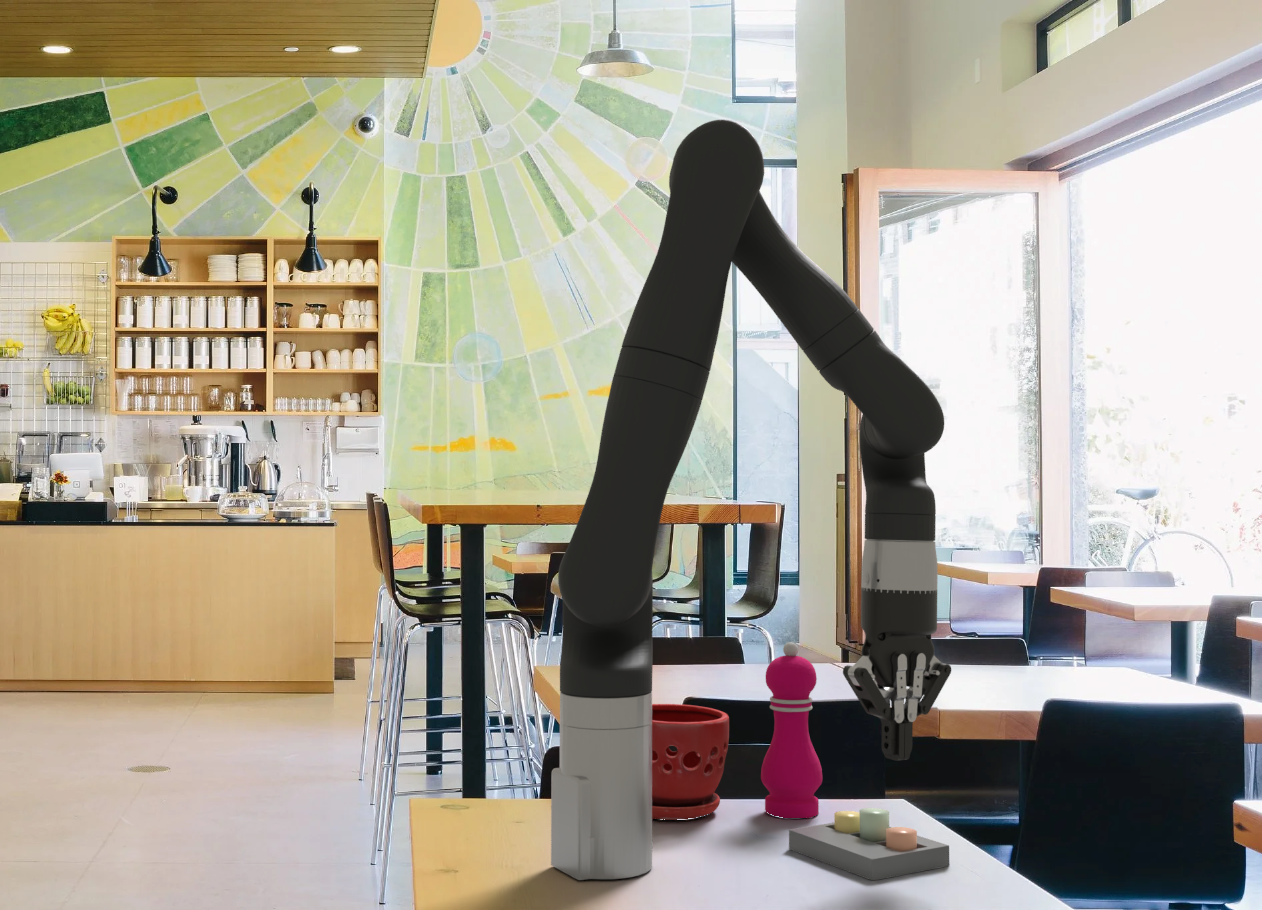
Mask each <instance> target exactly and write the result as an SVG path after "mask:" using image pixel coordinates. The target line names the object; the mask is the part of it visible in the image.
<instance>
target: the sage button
mask: <svg viewBox="0 0 1262 910" xmlns="http://www.w3.org/2000/svg"><path fill="white" fill-rule="evenodd" d="M858 812H859V817H860V838H861V839H864V840H867V841H870V842H878V841H884V840H886V829H887V828H889V827H890V811H889V810H888V809H884V808H878V807H877V808H876V807H864V808H861V809H859V811H858Z"/></svg>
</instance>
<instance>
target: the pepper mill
mask: <svg viewBox="0 0 1262 910" xmlns="http://www.w3.org/2000/svg"><path fill="white" fill-rule="evenodd" d="M782 650H783V651H782V652H783V654H784V655H781V656H779V657H776V658H774V659H773V660H772V661H771V662H770V663H769V664H768V666H767V669H766V671H765V683H766V686H767V687H768V689H769V690H770V692H771V693H772V696H770V697H769V701H770V705H769V709H770V710H772V711H773V717H774V718H773V720H774V725H773V726H774V727H773V729H774V730H773V735H772V739H771V742H770V744H769V747H768V749H767V751H766V753H765V756H764V758H763V760H762V761H763V762H762V764H761V771H760V780H761V782H762V784H763V787H765V789H767V791H768V792H769V794H768V795H766V796H765V798H764V811H765V810H766V812H768V813H769V814H772V815H774V816H779V817H783V818H807V819H812V818H814V817H813V816H815V817H817V816H818V815H819V814H820V813H819V807H820V806H819V803H820V802H819V798H818V797H816V796H815V793H816V791H818V789H819V788H820V786H821V785H822V784H823V772H822V771H823V769H822V765H821V762H820V759H819V757H818V755H817V753H816V751H815V748H814V746H813V742H812V740H811V738H810V733H809V714H810V713H809V712H810V711H811V710H813V705H812V702H813V698H812V696H810V695H811V694H812V692H813V690H814V689H815V687H816V685H817V679H818V678H817V672H816V669H815V667H814V665H813V664H812V663H811V661H809V660H808V659H806V658H805V657H802V656H800V655H798V653H799V647H798V645H797V644H796V643H795V642H791V641H789V642H786V643H785V644H784V646H783V648H782ZM766 812H765V813H766ZM816 815H817V816H816ZM811 817H812V818H811ZM783 818H782V819H783Z"/></svg>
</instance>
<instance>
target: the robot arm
mask: <svg viewBox="0 0 1262 910" xmlns="http://www.w3.org/2000/svg"><path fill="white" fill-rule="evenodd" d="M672 160H673V161H672V164H671V168H670V172H669V176H668V177H669V180H668V186H669V187H668V188H669V199H668V204H667V210H666V216H665V220H664V225H663V231H662V235H661V240H660V243H659V246H658V249H657V253H656V256H655V258H654V261H653V263H652V266H651V268H650V270H649V271H648V272H649V273H648V275H647V277H646V280H645V282H644V284H643V286H642V287H643V288H642V289H641V291H640V294H639V297H638V298H637V302H636V304H635V306H634V309H633V312H632V314H631V317H630V320H629V323H628V326H627V329H626V331H625V334H624V338H623V341H622V344H621V349H620V351H619V354H618V355H619V356H618V359H617V362H616V366H615V370H614V373H613V376H612V381H611V384H610V390H609V394H608V398H607V403H606V407H605V410H604V411H605V412H604V418H603V423H602V429H601V435H600V439H599V440H600V441H599V448H598V454H597V460H596V465H595V470H594V474H593V479H592V482H591V485H590V488H589V490H588V494H587V497H586V499H585V503H584V506H583V508H582V511H581V513H580V516H579V519H578V521H577V524H576V526H575V528H574V531H573V534H572V536H571V539H570V541H569V543H568V546H567V547H566V550H565V552H564V554H563V557H562V559H561V561H560V564H559V567H558V575H557V576H558V577H557V580H558V582H557V584H558V588H559V592H560V595H561V598H562V639H561V640H562V641H561V643H562V644H561V655H560V665H559V691H560V692H559V767H555V768H553V769H552V770H551V775H550V776H551V786H550V787H551V789H550V790H551V791H550V792H551V796H550V797H551V798H550V801H551V806H550V810H551V817H550V818H551V819H550V822H551V823H550V825H551V826H550V827H551V829H550V831H551V832H550V837H551V838H550V839H551V840H550V841H551V842H550V866H552V867H554V868H555V869H556V870H559V871H561V872H563V873H565V874H566V875H568V876H570V877H572V878H573V879H576V880H578V881H584V880H619V879H628V878H633V877H638V876H641V875H644V874H646V873H648V872H649V871H651V869H652V868H653V847H654V846H653V819H652V704H653V667H654V666H653V662H654V661H653V659H654V658H653V657H654V656H653V655H654V651H653V649H654V645H653V643H654V642H653V618H654V617H653V615H654V612H653V608H654V606H653V605H654V604H653V601H654V599H653V595H654V593H653V592H654V591H653V589H654V588H653V586H654V584H653V582H654V581H653V580H654V579H653V564H654V557H655V549H656V546H657V545H656V544H657V537H658V535H659V533H658V532H659V528H660V522H661V518H662V517H661V516H662V513H663V509H664V504H665V501H666V500H665V499H666V497H667V494H668V493H667V492H668V491H669V488H670V485H671V482H672V480H673V477H674V475H675V474H676V471H677V468H678V465H679V463H680V462H681V459H682V457H683V454H684V452H685V450H686V447H687V446H688V442H689V440H690V437H691V434H692V431H693V428H694V426H695V424H696V421H697V417H698V414H699V411H700V408H701V406H702V403H703V402H702V401H703V398H704V394H705V391H706V388H707V383H708V380H709V377H710V371H711V369H712V364H713V359H714V356H715V350H716V346H717V341H718V338H719V331H720V326H721V322H722V321H721V320H722V315H723V308H724V305H725V304H724V303H725V297H726V292H727V291H726V289H727V285H728V279H729V273H730V269H731V267H732V264H733V265H734V266H735V267H736V268H737V269H738V270H739V271H740V272H741V274H742V275H744V277H745V278H746V279H747V280H748V282H749V283H750V284H751V285H752V286H753V287H754V288H755V290H756V291H757V292H758V294H759V295H760V296H761V297H762V298H763V300H764V301H765V302H766V303H767V304H766V305H768V306H769V307H770V309H771V310H772V311H773V313H774V314H775V315H776V317H777V318H778V319H779V320H780V323H781V324H782V325H783V327H785V329H786V330H787V332H788V333H789V334H790V336H791V337H792V338H793V340H794V341H795V343H796V344H797V345H798V347H800V349H801V350H802V352H803V353H804V355H805V356H806V357H807V358H808V359H809V361H810V363H811V364H812V365H813V366H814V368H815V370H817V371H819V372H818V373H819V374H820V376H821V377H822V378H823V379H824V380H825V381H826V382H827V384H829V385H830V387H832V388H833V389H835V390H838V391H840V392H842V393H844V394H845V395H846V396H847V397H848V398H849V400H851V401H852V403H853V404H854V406H855V407H857V409H858V410H859V411H860V413H861V414H862V415H861V420H860V424H859V452H860V460H861V462H860V463H861V469H862V476H863V481H864V482H863V483H864V487H865V488H864V489H865V505H864V507H865V508H864V513H865V514H864V539H865V540H864V543H863V544H864V546H863V552H862V559H861V560H862V561H861V582H860V583H861V585H860V586H861V588H860V589H861V594H860V595H861V597H860V599H861V600H860V628H861V629H862V630H863V632H864V635H865V636H864V637H865V638H864V642H863V645H862V646H861V657H860V658H859V659H858V660H857V661H856V662H855V663H854V664H853V665H848V664H847V665H845V666H843V669H842V674H843V676H844V678H845V680H846V681H847V683H848V685H849V686H850V688H851V690H852V692H853V693H854V694H855V696H856V697H857V699H858V702H859V703H860V704H861V706H862V708H863V709H864V711H865V713H867V715H871V716H874V717H877V718H879V720H880V722H881V752H882V754H883V756H884V757H885V758H886V759H888V760H893V761H895V762H898V761H906V760H909V759H910V757H911V753H912V750H913V734H914V733H913V728H914V727H913V725H914V722H915V721H916V720H917V717H918V716H920V715H928V714H929V713H930V710H932V707H933V706H934V704H935V702H936V700H937V698H938V696H939V695H940V693H941V691H942V690H943V687H944V686H945V684H946V683H947V681H948V679H949V677H950V676H951V673H952V667H951V665H950V663H949V664H948V663H943V662H942V661H941V660H939V658H937V657H936V655H935V646H934V643H933V640H932V635H934V634H935V633H936V632H937V631H938V576H939V573H938V555H937V550H936V542H935V541H936V523H937V522H936V517H937V516H936V514H937V513H936V512H937V511H936V509H937V508H936V497H935V494H934V491H933V489H932V488H931V487H930V486H929V485H928V483H927V479H926V478H927V476H926V462H925V461H926V460H925V459H926V458H925V453H927V452H929V451H930V450H932V449H933V448H934V447H935V446H936V445H938V443H939V442H940V440H941V439H942V436H943V433H944V430H945V415H944V412H943V409H942V406H941V403H940V402H939V400H938V399H937V396H936V395H935V394H934V393H933V391H932V390H931V389H930V387H929V385H928V384H926V383H925V382H924V380H923V379H922V378H921V377H920V376H919V375H918V374H917V373H916V372H915V371H914V370H913V369H912V368H910V367H909V366H908V364H906V363H905V361H904V360H902V359H901V358H900V357H899V356H898V355H897V354H896V353H894V352H893V351H892V350H891V349H890V348H889V347H888V346H887V345H886V344H885V343H884V341H883V340H882V338H881V337H880V335H879V334H878V333H877V331H876V330H875V329H874V327H873V325H872V324H871V323H870V322H869V320H868V319H867V318H866V317H865V315H864V314H863V313H862V311H861V309H859V307H858V306H857V304H856V303H855V302H854V301H853V300H852V298H851V297H850V296H849V295H848V294H847V292H846V291H845V290H844V289H843V288H842V287H841V286H840V285H839V284H838V283H837V282H836V281H835V280H834V279H833V278H832V277H831V276H830V275H829V274H828V273H827V272H826V271H825V270H824V269H822V268H821V267H820V266H819V265H817V263H816V262H814V261H813V260H812V259H811V258H810V257H809V256H808V255H807V254H805V252H803V251H802V249H800V247H798V246H797V244H796V243H795V242H794V241H793V240H792V239H791V237H790V236H788V234H787V232H785V230H784V229H783V228H782V226H781V225H780V223H779V222H778V220H777V219H776V217H775V216H774V214H773V213H772V211H771V209H770V207H769V206H768V204H767V202H766V200H765V198H764V197H763V194H762V193H761V191H760V190H761V188H762V185H763V182H764V178H765V177H764V176H765V162H764V155H763V151H762V149H761V146H760V144H759V143H758V141H757V139H756V138H755V136H754V135H753V134H752V132H751V131H750V130H749V129H748V128H746V127H745V126H743V124H740V123H739V122H736V121H734V120H729V119H715V120H710V121H707V122H704V123H703V124H701V125H700V126H697V127H696V128H695V129H693V130H692V131H691V132H689V133H688V134H687V135H686V136H685V137H684V138H683V139H682V140H681V142H680V144H679V145H678V147H677V149H676V151H675V154H674V156H673V159H672ZM907 687H908V688H907Z"/></svg>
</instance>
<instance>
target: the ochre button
mask: <svg viewBox="0 0 1262 910" xmlns="http://www.w3.org/2000/svg"><path fill="white" fill-rule="evenodd" d="M833 815H834V816H833V817H834V821H833V823H835V830H838V831H841V832H844V833H846V834H848V833H854V832H860V817H859V811H852V810H841V811H835V813H834V814H833Z"/></svg>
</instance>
